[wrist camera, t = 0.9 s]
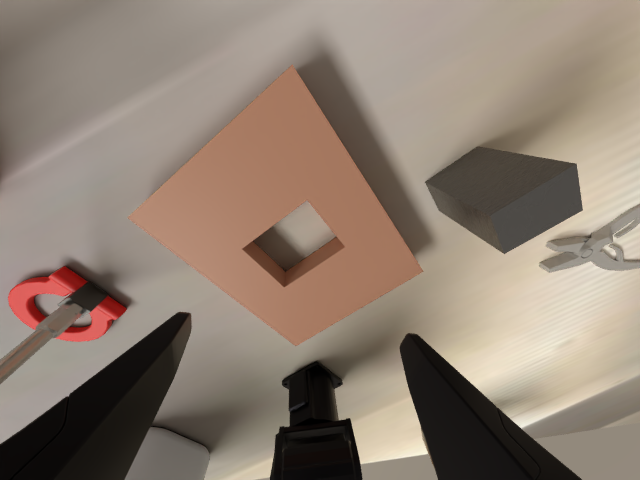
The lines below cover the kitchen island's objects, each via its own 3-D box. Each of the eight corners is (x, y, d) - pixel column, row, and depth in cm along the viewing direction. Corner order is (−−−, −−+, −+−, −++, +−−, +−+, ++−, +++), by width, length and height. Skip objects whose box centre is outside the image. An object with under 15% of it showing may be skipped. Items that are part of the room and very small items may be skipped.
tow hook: (83, 342, 27) (138, 310, 25) (-78, 510, 16) (0, 477, 14) (2, 297, 23) (59, 255, 21) (-287, 475, 12) (-223, 422, 10)
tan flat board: (412, 257, 25) (423, 271, 23) (295, 328, 28) (295, 346, 26) (292, 71, 16) (292, 64, 14) (146, 206, 20) (127, 217, 17)
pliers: (662, 269, 28) (539, 294, 28) (645, 262, 29) (528, 285, 29) (716, 189, 23) (568, 219, 23) (692, 185, 24) (552, 213, 24)
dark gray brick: (488, 179, 21) (582, 210, 14) (439, 210, 22) (504, 254, 15) (477, 146, 20) (576, 163, 13) (424, 182, 21) (490, 215, 14)
